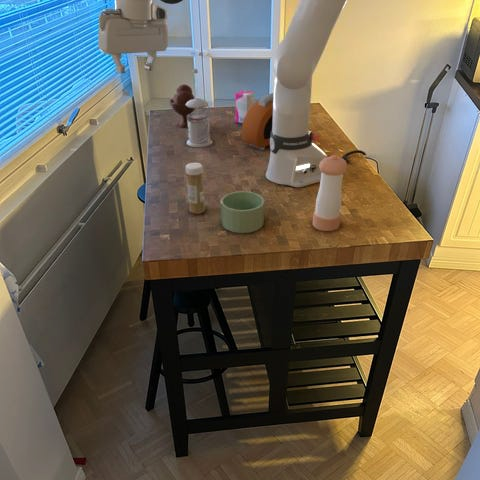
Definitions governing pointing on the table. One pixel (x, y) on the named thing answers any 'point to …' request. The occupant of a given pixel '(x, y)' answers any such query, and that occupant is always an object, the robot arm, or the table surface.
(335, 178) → the salt shaker
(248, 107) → the supplement box
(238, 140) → the table surface
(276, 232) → the table surface
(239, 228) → the cup
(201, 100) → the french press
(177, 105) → the brown teddy bear
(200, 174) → the sprinkles bottle
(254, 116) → the alarm clock
